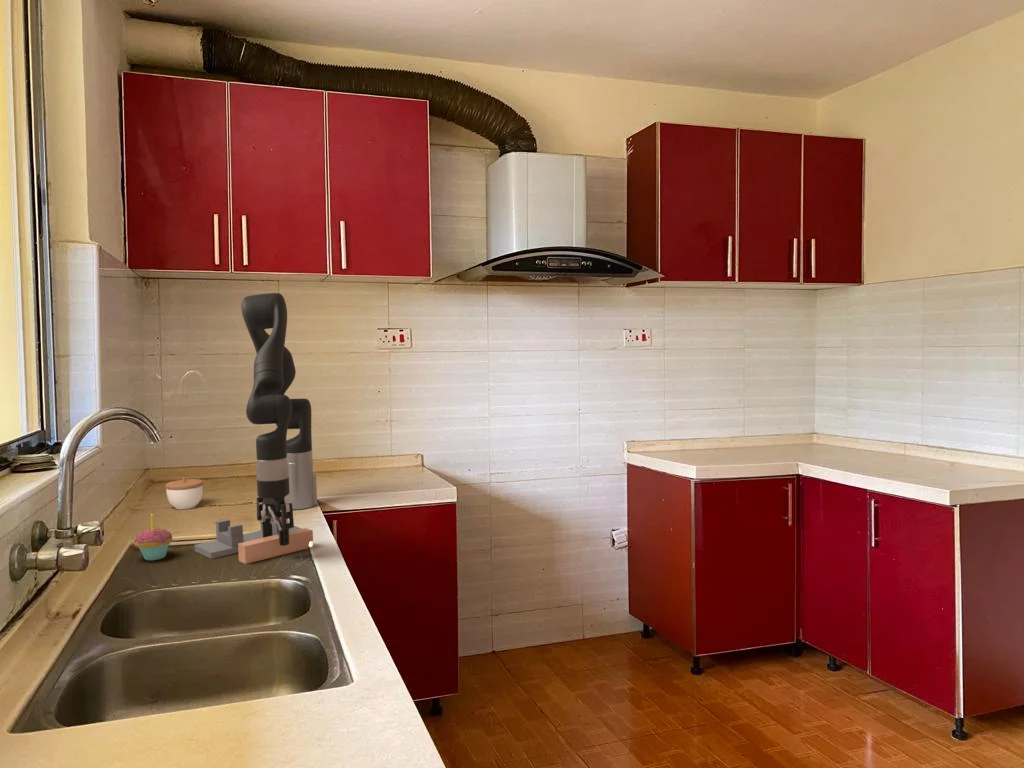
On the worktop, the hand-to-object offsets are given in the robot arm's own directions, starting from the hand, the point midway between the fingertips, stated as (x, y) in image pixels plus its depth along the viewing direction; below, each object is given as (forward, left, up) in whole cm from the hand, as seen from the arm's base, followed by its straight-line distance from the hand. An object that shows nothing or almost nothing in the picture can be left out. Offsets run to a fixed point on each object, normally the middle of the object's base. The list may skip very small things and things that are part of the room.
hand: (276, 541), depth 191 cm
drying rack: (0, -13, -3) cm, 13 cm away
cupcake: (+22, -20, -3) cm, 30 cm away
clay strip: (0, 0, -3) cm, 3 cm away
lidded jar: (-4, -67, -3) cm, 67 cm away
